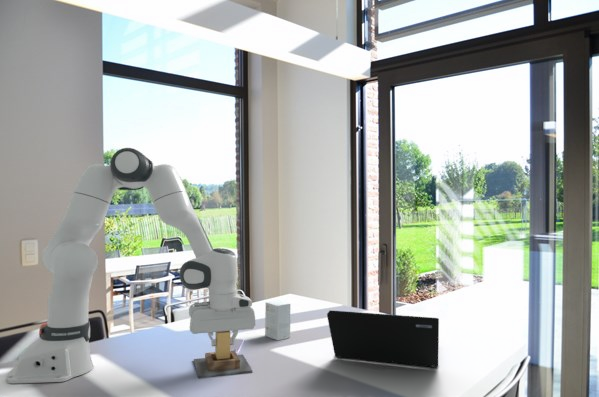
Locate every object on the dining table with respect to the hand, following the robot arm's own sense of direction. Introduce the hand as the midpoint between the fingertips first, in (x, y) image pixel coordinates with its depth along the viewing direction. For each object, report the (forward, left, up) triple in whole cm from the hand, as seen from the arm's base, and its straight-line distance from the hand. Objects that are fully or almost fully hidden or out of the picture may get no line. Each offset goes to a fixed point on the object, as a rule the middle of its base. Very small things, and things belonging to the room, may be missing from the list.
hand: (222, 345), depth 143 cm
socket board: (0, 0, -7) cm, 7 cm away
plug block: (0, 0, -4) cm, 4 cm away
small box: (+25, +25, -7) cm, 36 cm away
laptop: (+53, -8, -7) cm, 54 cm away
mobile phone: (+6, +18, -7) cm, 21 cm away
